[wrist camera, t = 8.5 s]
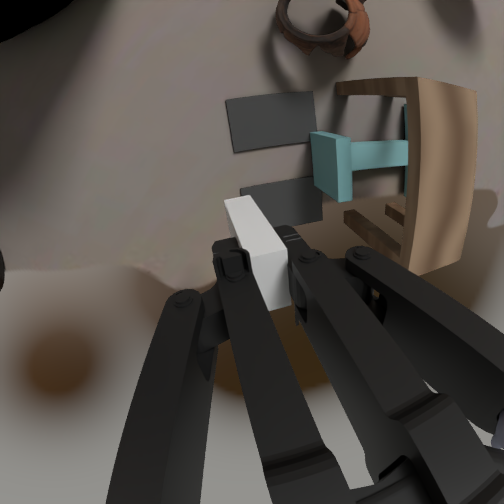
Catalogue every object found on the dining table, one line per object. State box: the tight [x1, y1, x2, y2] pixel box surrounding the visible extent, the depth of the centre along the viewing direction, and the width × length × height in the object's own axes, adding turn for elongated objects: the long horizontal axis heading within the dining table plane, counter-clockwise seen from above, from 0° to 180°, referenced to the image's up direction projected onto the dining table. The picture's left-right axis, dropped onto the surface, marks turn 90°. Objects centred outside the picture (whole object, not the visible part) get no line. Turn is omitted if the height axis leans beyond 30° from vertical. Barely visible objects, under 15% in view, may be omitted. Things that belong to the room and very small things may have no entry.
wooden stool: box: [336, 77, 478, 276], centre depth 24 cm, size 8×17×13 cm, turn 8°
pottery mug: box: [276, 0, 370, 59], centre depth 19 cm, size 12×10×8 cm
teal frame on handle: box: [310, 104, 408, 203], centre depth 27 cm, size 25×12×6 cm, turn 98°
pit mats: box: [226, 91, 323, 228], centre depth 28 cm, size 9×15×1 cm, turn 9°
